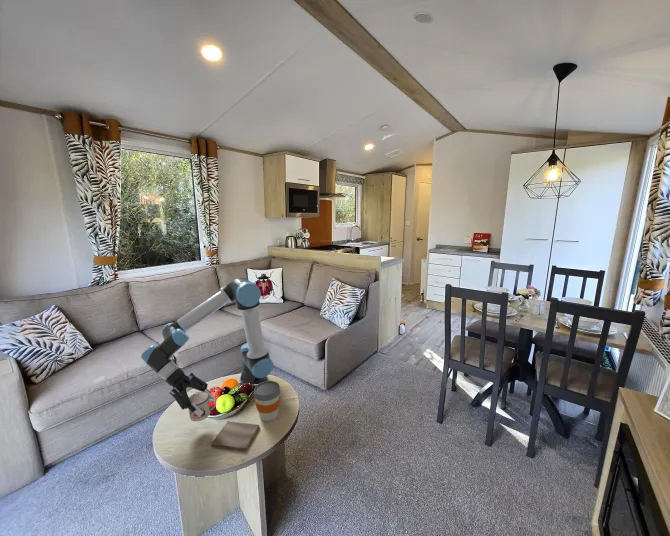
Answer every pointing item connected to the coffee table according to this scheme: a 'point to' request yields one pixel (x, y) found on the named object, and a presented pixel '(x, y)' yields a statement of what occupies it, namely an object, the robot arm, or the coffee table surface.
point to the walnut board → (235, 436)
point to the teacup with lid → (201, 405)
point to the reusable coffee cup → (267, 399)
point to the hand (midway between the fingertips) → (207, 407)
